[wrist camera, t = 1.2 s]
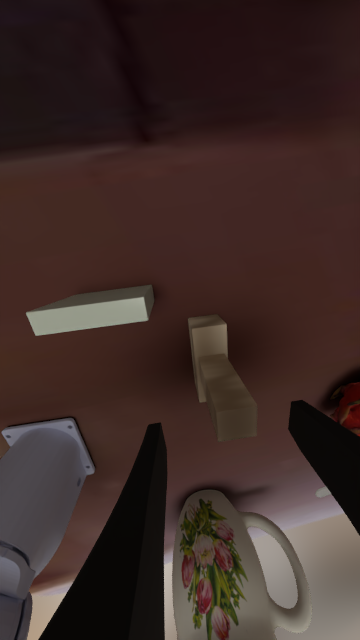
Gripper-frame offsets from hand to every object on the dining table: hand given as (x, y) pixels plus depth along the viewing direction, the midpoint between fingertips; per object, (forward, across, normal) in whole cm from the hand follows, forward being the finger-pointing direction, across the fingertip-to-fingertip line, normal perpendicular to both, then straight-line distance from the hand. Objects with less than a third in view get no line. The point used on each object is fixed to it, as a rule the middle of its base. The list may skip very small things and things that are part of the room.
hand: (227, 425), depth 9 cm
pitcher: (+10, 0, +28) cm, 29 cm away
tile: (+10, +7, -6) cm, 13 cm away
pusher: (+10, -1, +1) cm, 10 cm away
